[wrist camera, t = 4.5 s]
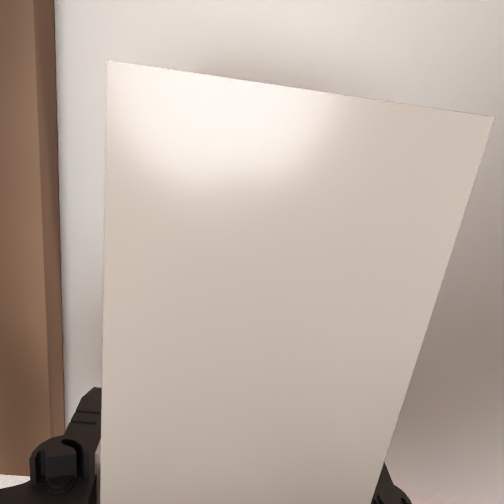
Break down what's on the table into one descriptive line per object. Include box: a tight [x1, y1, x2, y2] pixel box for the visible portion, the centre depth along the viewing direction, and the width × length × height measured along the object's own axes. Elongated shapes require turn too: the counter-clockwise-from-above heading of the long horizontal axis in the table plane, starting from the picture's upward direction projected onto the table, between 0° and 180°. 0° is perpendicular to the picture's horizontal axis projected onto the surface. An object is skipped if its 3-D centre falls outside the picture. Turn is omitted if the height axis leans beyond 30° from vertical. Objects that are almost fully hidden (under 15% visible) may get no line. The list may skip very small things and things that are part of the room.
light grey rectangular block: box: [100, 60, 495, 504], centre depth 14 cm, size 5×20×10 cm, turn 172°
